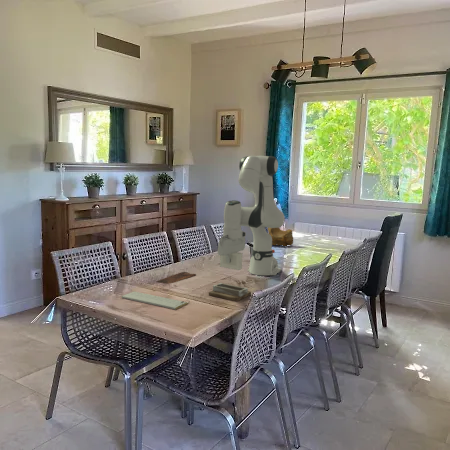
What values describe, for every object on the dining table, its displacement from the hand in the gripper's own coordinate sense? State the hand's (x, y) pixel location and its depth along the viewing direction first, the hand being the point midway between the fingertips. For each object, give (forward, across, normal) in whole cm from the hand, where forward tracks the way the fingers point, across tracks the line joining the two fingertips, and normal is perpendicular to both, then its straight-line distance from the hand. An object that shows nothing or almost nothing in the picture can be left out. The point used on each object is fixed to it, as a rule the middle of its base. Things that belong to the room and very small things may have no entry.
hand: (231, 261), depth 218 cm
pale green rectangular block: (+3, 0, 0) cm, 3 cm away
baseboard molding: (+18, -29, +23) cm, 41 cm away
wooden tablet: (+18, +8, +41) cm, 45 cm away
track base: (+17, 0, 0) cm, 17 cm away
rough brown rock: (+16, +138, +42) cm, 145 cm away
